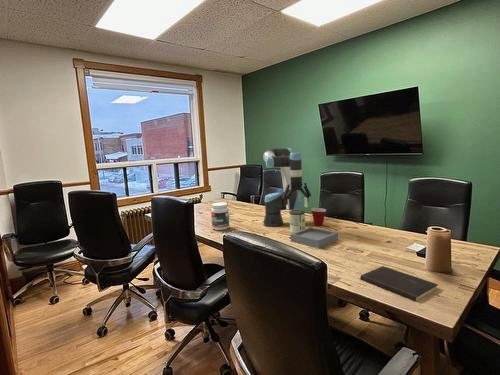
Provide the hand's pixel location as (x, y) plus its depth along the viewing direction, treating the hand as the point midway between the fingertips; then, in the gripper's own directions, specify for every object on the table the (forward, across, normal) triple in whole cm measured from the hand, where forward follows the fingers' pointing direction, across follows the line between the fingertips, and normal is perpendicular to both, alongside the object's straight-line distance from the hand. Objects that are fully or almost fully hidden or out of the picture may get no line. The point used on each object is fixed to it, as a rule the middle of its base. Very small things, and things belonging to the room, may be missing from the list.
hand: (297, 208), depth 194 cm
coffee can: (+17, 0, 0) cm, 17 cm away
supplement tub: (+16, -44, +36) cm, 59 cm away
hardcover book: (+18, 0, -83) cm, 85 cm away
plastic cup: (+16, +22, +8) cm, 29 cm away
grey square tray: (+17, 0, -20) cm, 26 cm away
